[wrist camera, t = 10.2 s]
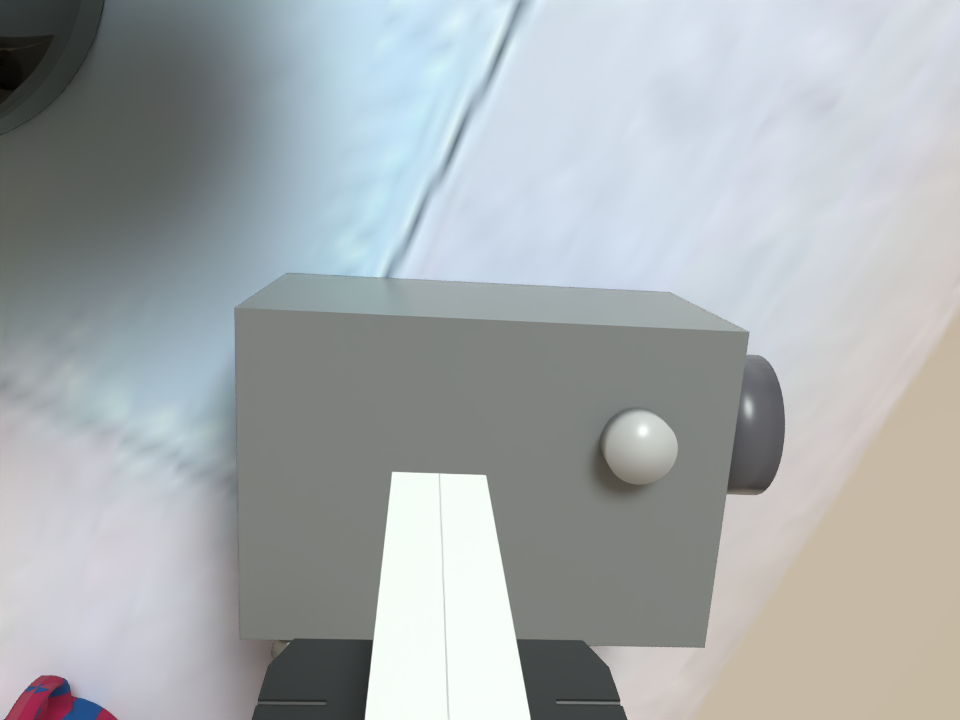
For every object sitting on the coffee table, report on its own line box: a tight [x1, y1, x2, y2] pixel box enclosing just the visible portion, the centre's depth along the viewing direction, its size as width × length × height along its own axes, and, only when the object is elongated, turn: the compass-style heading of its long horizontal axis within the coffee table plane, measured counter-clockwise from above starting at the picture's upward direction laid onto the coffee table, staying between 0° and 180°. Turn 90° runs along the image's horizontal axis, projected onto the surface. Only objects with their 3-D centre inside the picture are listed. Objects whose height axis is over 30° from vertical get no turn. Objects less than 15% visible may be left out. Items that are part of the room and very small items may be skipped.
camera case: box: [235, 273, 785, 648], centre depth 31 cm, size 19×12×10 cm, turn 87°
